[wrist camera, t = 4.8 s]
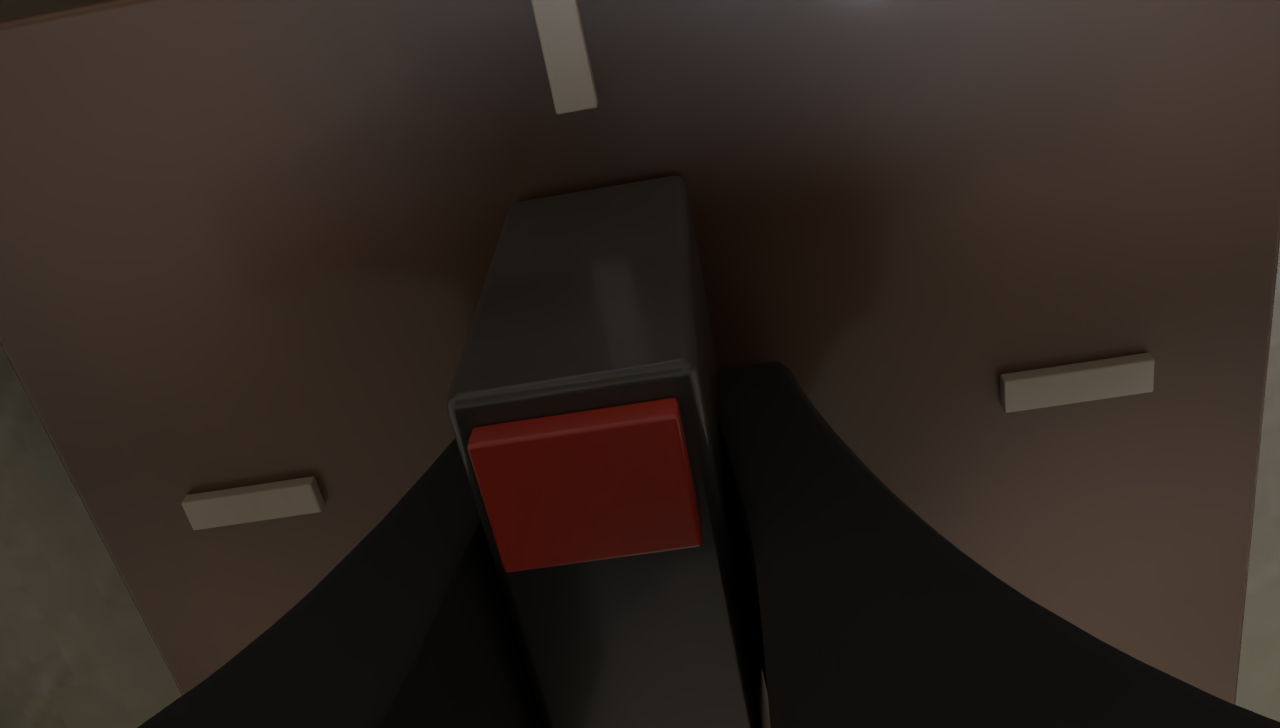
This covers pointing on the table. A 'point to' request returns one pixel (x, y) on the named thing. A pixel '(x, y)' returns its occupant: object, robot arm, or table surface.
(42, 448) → the table surface
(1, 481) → the table surface
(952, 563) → the robot arm
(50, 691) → the table surface
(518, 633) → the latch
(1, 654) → the table surface
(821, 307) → the plate
